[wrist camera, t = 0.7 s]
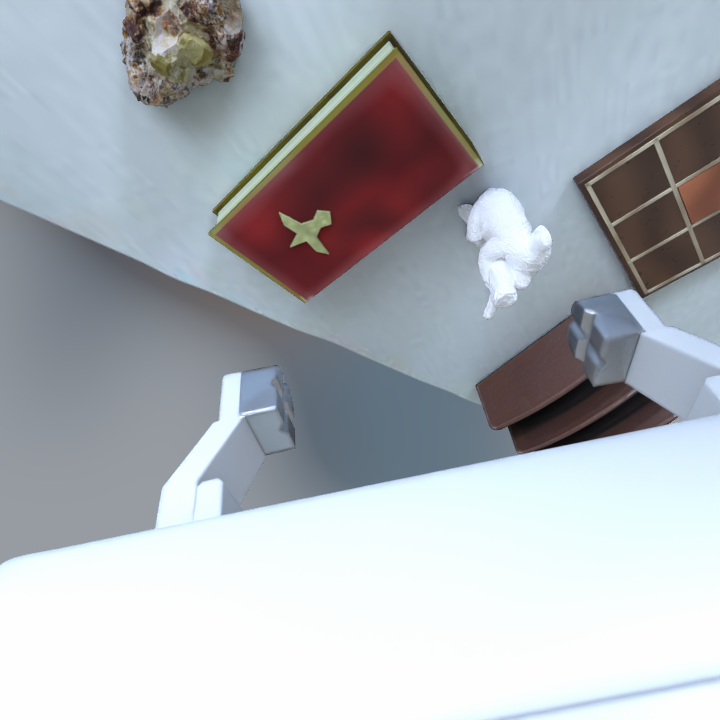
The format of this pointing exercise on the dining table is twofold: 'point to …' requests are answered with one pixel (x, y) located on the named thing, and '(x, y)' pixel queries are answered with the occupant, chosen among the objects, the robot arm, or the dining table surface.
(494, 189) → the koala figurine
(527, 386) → the letter holder
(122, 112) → the dining table surface
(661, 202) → the board
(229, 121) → the dining table surface
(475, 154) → the hardcover book
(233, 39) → the mineral rock
